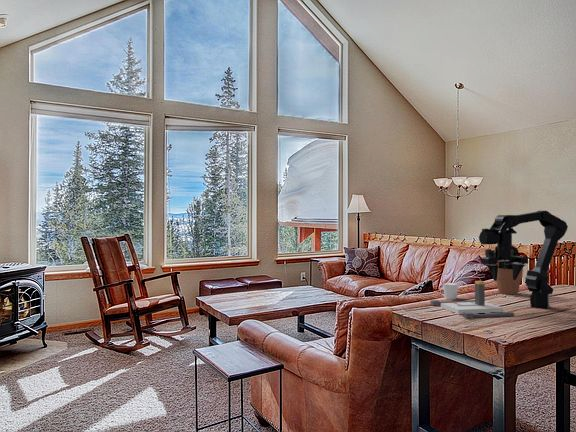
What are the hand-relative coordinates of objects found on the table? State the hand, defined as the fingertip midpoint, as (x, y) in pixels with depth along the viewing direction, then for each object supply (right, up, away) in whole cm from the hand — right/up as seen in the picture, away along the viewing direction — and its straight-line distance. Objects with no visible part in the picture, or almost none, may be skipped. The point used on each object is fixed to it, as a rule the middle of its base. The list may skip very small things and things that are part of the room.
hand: (504, 280), depth 189 cm
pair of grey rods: (-16, -12, -3) cm, 20 cm away
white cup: (-14, -13, +25) cm, 31 cm away
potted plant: (+20, -12, +38) cm, 45 cm away
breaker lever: (-12, -10, -2) cm, 15 cm away
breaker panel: (-16, -12, -3) cm, 20 cm away
